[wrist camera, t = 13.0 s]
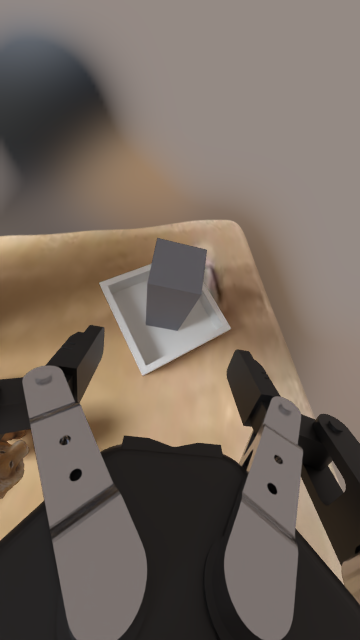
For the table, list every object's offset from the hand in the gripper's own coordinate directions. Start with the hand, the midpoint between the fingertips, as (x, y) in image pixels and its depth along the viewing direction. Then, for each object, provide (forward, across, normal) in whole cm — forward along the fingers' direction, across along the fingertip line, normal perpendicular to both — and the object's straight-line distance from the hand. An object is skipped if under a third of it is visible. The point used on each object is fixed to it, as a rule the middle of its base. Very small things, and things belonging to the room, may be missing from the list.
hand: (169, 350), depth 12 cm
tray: (+16, 0, +6) cm, 17 cm away
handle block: (+15, 0, +5) cm, 16 cm away
